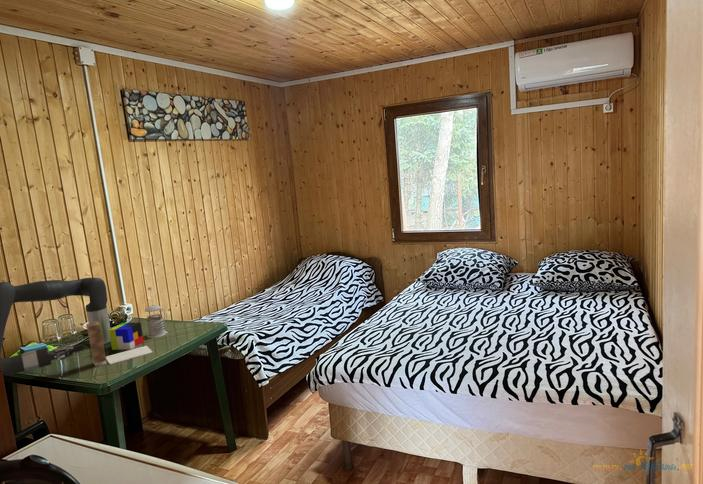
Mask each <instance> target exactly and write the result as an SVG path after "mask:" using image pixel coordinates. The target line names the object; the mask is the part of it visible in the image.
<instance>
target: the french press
mask: <svg viewBox="0 0 703 484" xmlns="http://www.w3.org/2000/svg"><path fill="white" fill-rule="evenodd" d="M147 289H148V290H149V292H150V294H152V291H151V290H153V287H151V286H150V287H147ZM152 298H153V297H152V295H150V299H151V300H153V299H152ZM156 311H158V312H160V313H158V314H157V313H156V314H155V313H154V312H156ZM144 312H146V313H152V312H153V314H151V315H149V316H147V317H146V324H147V330H148V334H147V336H146V337H147V338H149V339H153V338H160V337H163V336H165V335H167V334H168V331H166V329H165V322H166V321H167V319H168V314H167V311H166V309H163V307H162V306H161V305H154V304H153V302H151V305H149V306H148V307H146V308H145V309H144ZM161 312H163V316H162V314H161ZM166 333H167V334H166Z"/></svg>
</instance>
